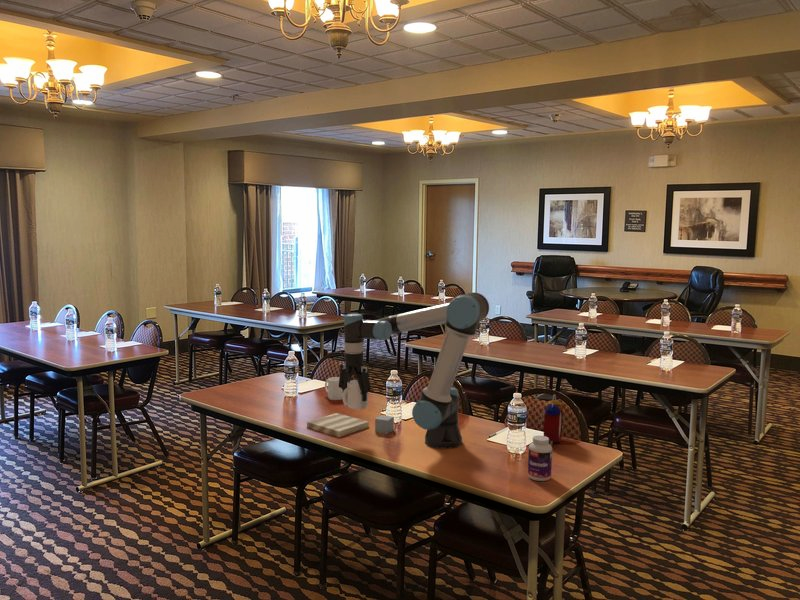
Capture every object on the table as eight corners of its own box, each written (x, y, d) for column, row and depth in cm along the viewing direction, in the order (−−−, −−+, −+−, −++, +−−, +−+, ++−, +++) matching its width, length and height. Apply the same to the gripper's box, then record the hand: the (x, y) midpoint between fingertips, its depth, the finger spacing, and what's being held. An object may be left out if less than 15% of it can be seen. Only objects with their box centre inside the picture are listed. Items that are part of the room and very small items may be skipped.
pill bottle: (525, 480, 220) (526, 440, 218) (529, 472, 228) (530, 433, 226) (549, 483, 217) (550, 442, 216) (552, 475, 225) (554, 435, 223)
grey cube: (393, 430, 274) (393, 416, 274) (387, 434, 269) (387, 420, 268) (381, 428, 277) (381, 415, 276) (375, 432, 271) (375, 418, 270)
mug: (349, 412, 252) (348, 386, 251) (336, 408, 258) (335, 383, 257) (372, 406, 260) (371, 381, 259) (359, 402, 266) (358, 378, 265)
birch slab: (368, 428, 278) (368, 421, 278) (339, 438, 264) (339, 431, 264) (336, 419, 291) (336, 413, 291) (306, 428, 277) (306, 421, 277)
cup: (336, 401, 319) (336, 381, 318) (319, 397, 326) (319, 378, 325) (347, 397, 326) (347, 378, 325) (330, 394, 333) (330, 375, 332)
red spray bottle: (558, 448, 252) (560, 399, 250) (536, 445, 255) (538, 397, 253) (562, 437, 266) (564, 390, 264) (541, 434, 269) (543, 388, 267)
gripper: (379, 353, 253) (380, 409, 255) (341, 348, 266) (342, 400, 268) (367, 356, 247) (368, 413, 249) (328, 350, 260) (329, 404, 263)
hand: (354, 406), depth 259 cm, fingers closed on mug, 8 cm apart
